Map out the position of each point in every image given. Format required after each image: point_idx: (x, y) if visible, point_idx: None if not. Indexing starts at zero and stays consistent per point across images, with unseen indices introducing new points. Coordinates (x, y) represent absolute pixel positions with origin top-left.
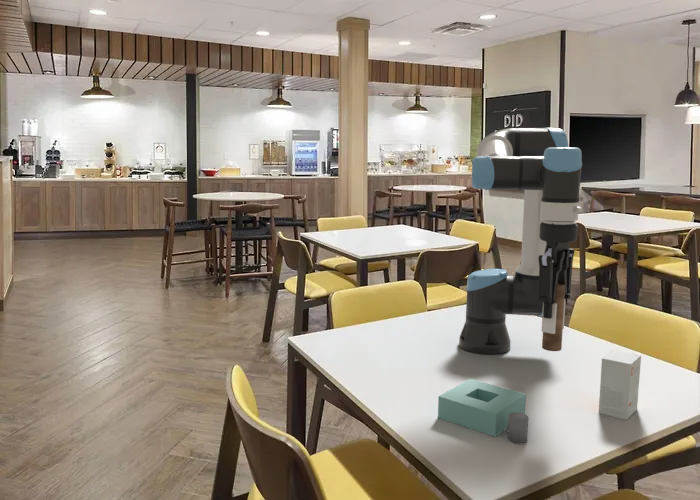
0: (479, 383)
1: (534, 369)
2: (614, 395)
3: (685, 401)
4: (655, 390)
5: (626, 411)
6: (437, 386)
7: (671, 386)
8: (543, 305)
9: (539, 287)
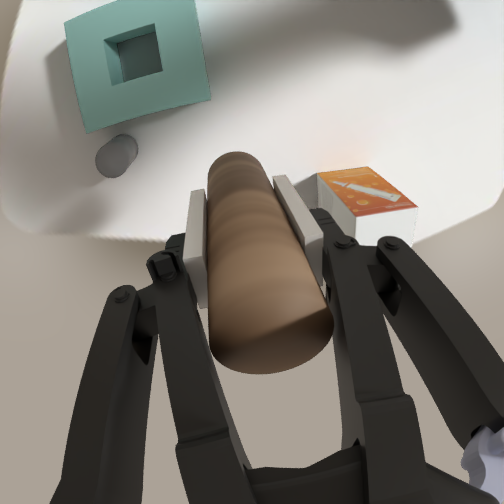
0: (181, 6)
1: (415, 17)
2: (328, 210)
3: (421, 232)
4: (438, 193)
5: None
6: None
7: (456, 202)
8: (184, 250)
9: (93, 351)
